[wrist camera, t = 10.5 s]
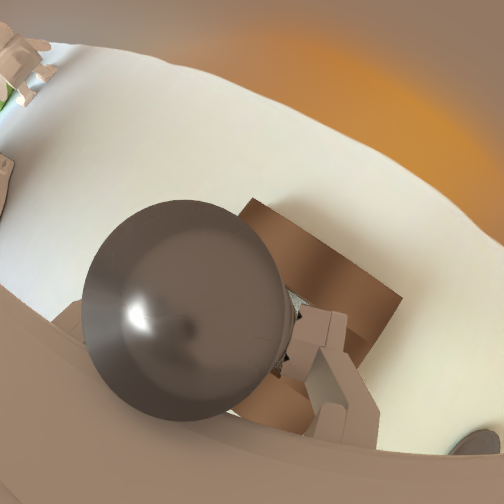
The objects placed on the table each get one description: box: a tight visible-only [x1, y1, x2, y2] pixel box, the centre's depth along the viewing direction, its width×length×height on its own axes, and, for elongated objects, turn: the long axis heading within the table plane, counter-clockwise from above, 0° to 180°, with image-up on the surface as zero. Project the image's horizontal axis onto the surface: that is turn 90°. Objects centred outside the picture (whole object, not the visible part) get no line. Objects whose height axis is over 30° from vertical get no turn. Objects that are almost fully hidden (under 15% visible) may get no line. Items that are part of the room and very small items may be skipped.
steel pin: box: [81, 200, 297, 422], centre depth 10 cm, size 4×4×12 cm
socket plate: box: [231, 197, 403, 435], centre depth 21 cm, size 13×13×2 cm
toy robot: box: [0, 22, 58, 107], centre depth 30 cm, size 14×9×20 cm, turn 144°
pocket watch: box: [449, 430, 500, 455], centre depth 10 cm, size 8×8×10 cm
